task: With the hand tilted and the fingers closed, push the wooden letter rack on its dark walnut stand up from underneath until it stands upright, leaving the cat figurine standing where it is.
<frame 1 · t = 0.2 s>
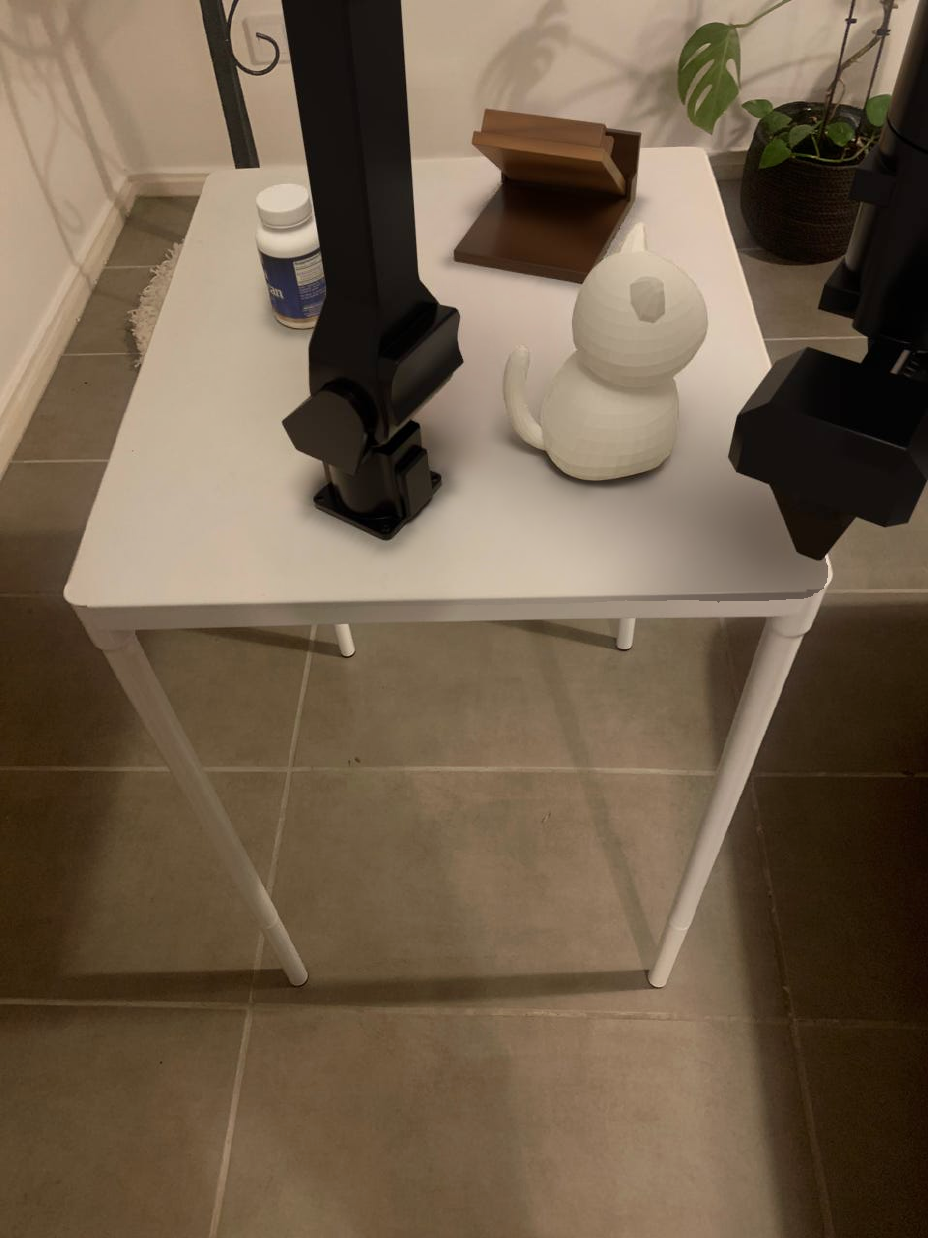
hand: (848, 487, 41), 15 cm above the table, tool pointing down, fingers open, 9 cm apart
pill bottle: (307, 312, 77), on the table
cat figurine: (594, 455, 65), on the table
stand: (547, 229, 82), on the table
ornament: (323, 258, 82), on the table
wooden letter rack: (555, 153, 79), point 6 cm above the table, hinge at 40.0°
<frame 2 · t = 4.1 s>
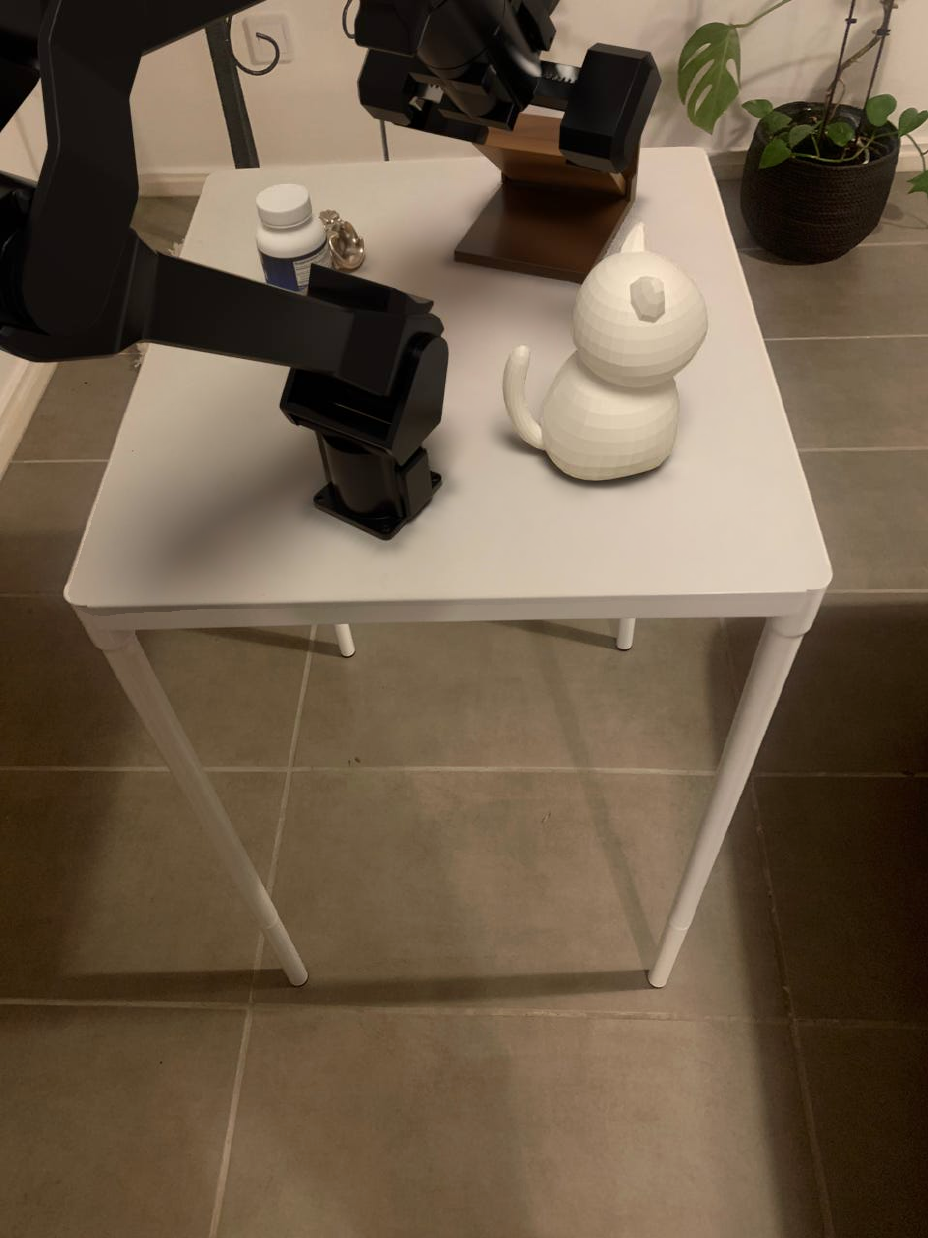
hand: (542, 150, 65), 13 cm above the table, tool tilted 40°, fingers open, 9 cm apart
nothing on the table moved.
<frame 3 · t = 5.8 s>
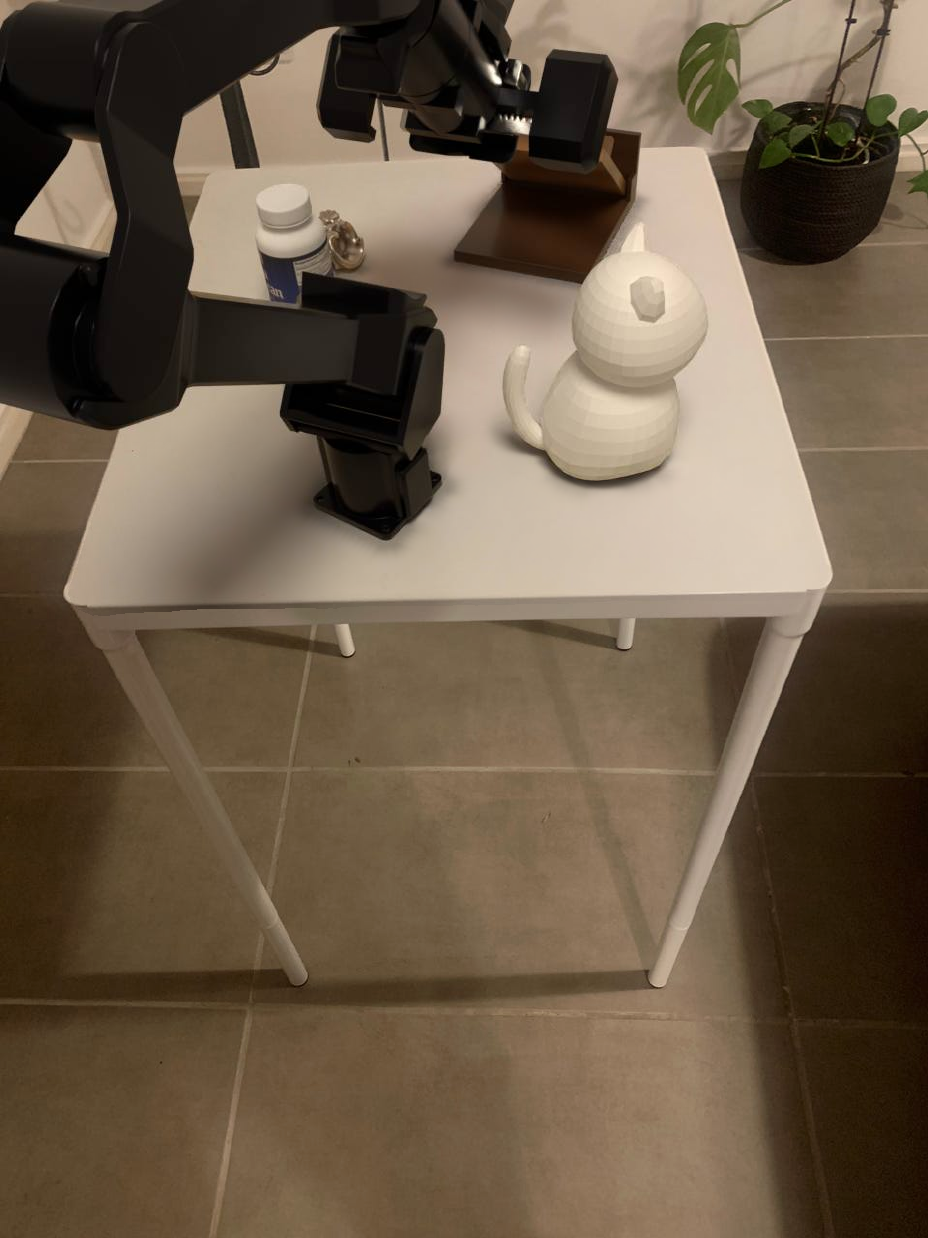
hand: (498, 148, 67), 12 cm above the table, tool tilted 45°, fingers closed
nothing on the table moved.
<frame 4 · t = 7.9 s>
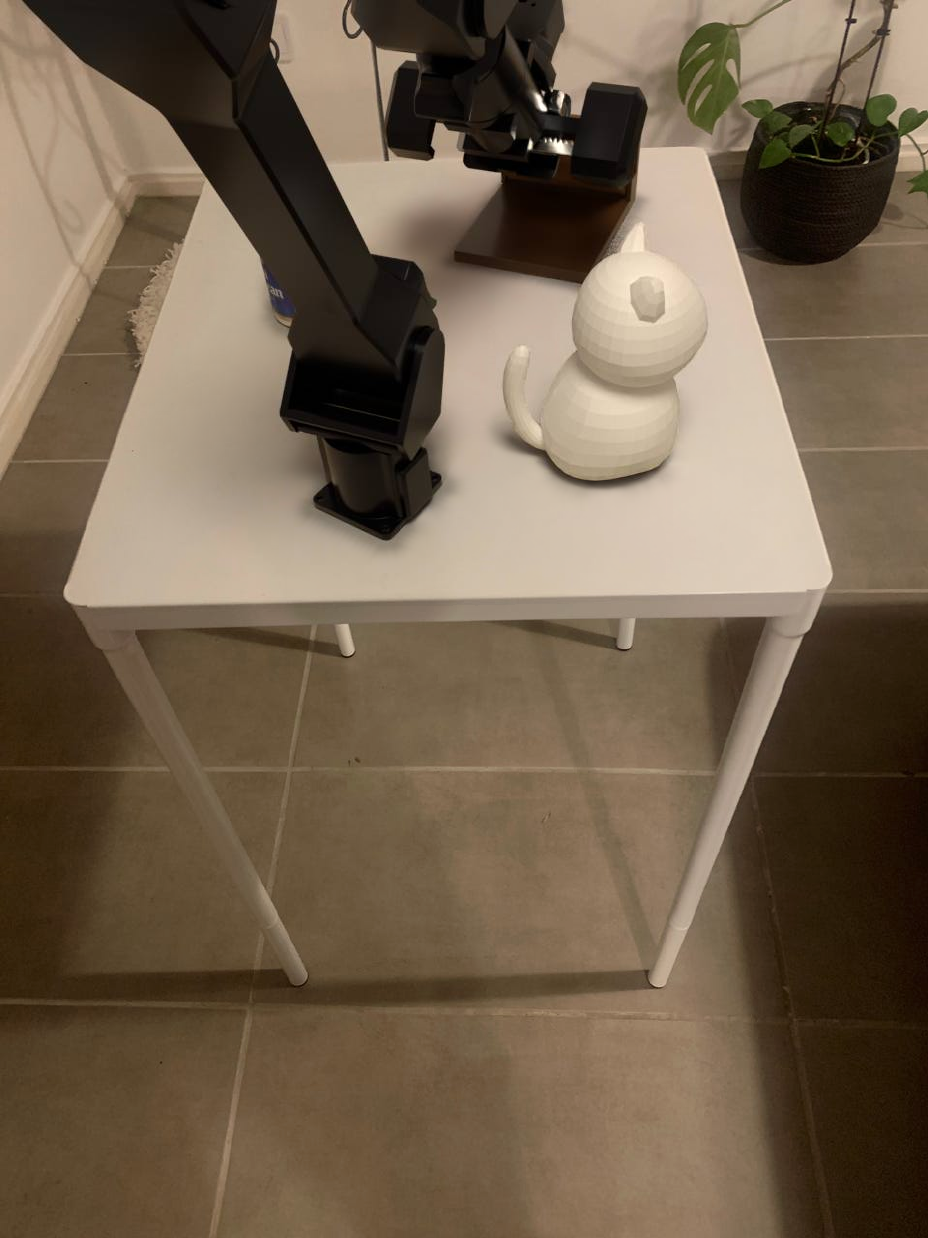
hand: (537, 166, 75), 7 cm above the table, tool tilted 45°, fingers closed
wooden letter rack: (556, 150, 79), point 6 cm above the table, hinge at 42.3°
everything else where it was.
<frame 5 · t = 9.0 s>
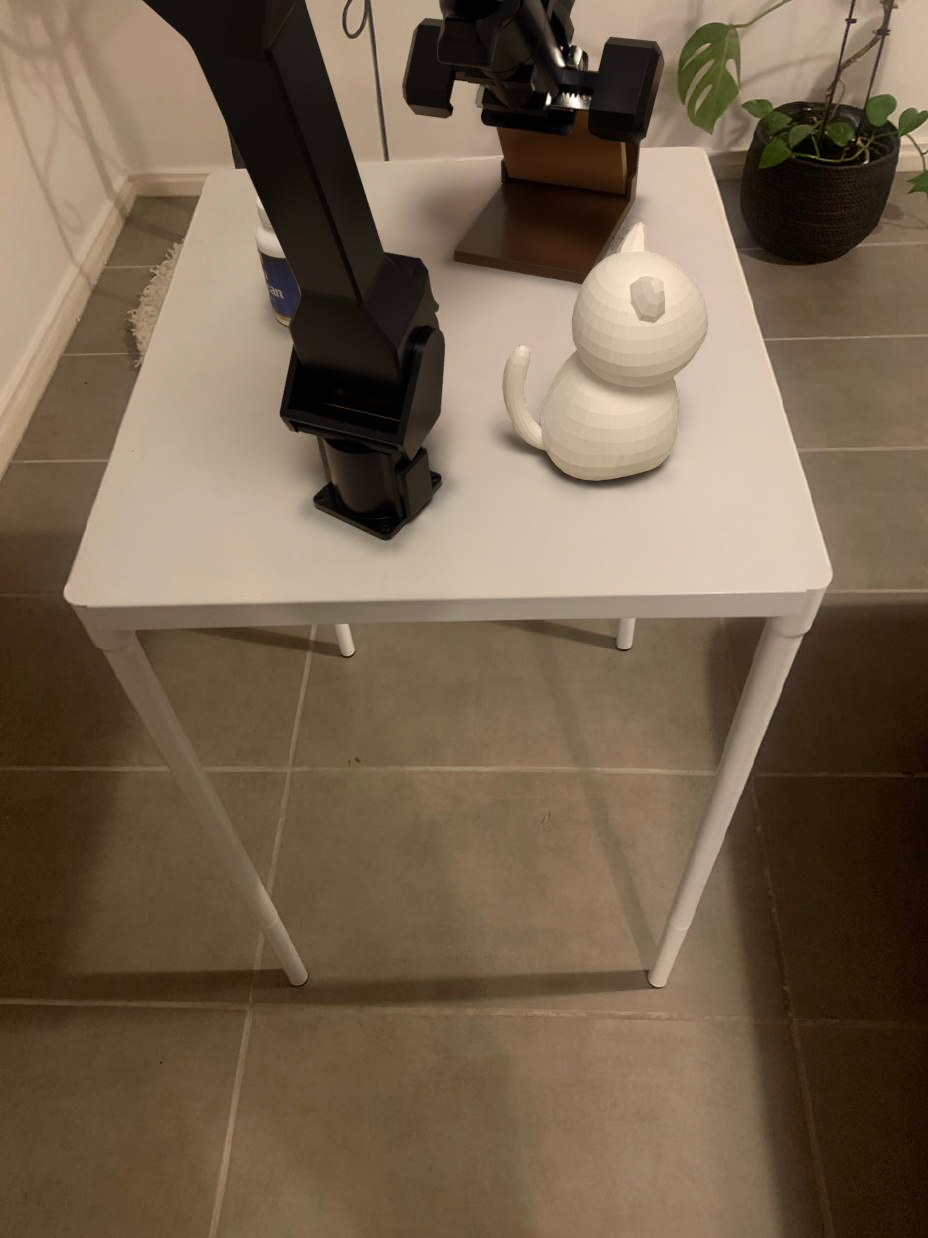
hand: (553, 127, 76), 8 cm above the table, tool tilted 45°, fingers closed, pressing on wooden letter rack
wooden letter rack: (563, 128, 79), point 7 cm above the table, hinge at 64.2°, touching gripper
everything else where it was.
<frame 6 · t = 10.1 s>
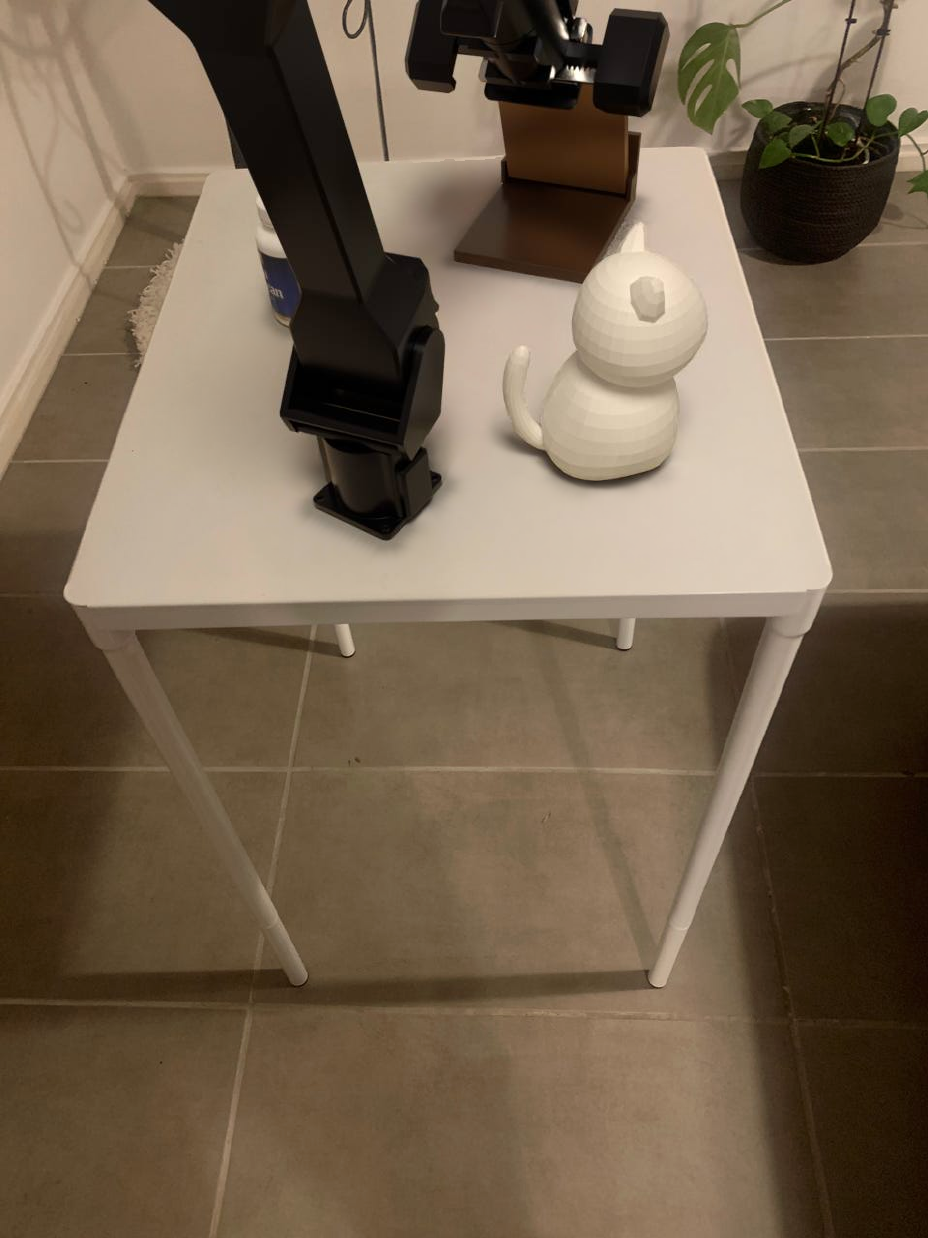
hand: (557, 102, 76), 10 cm above the table, tool tilted 45°, fingers closed
wooden letter rack: (567, 121, 79), point 7 cm above the table, hinge at 73.9°
everything else where it was.
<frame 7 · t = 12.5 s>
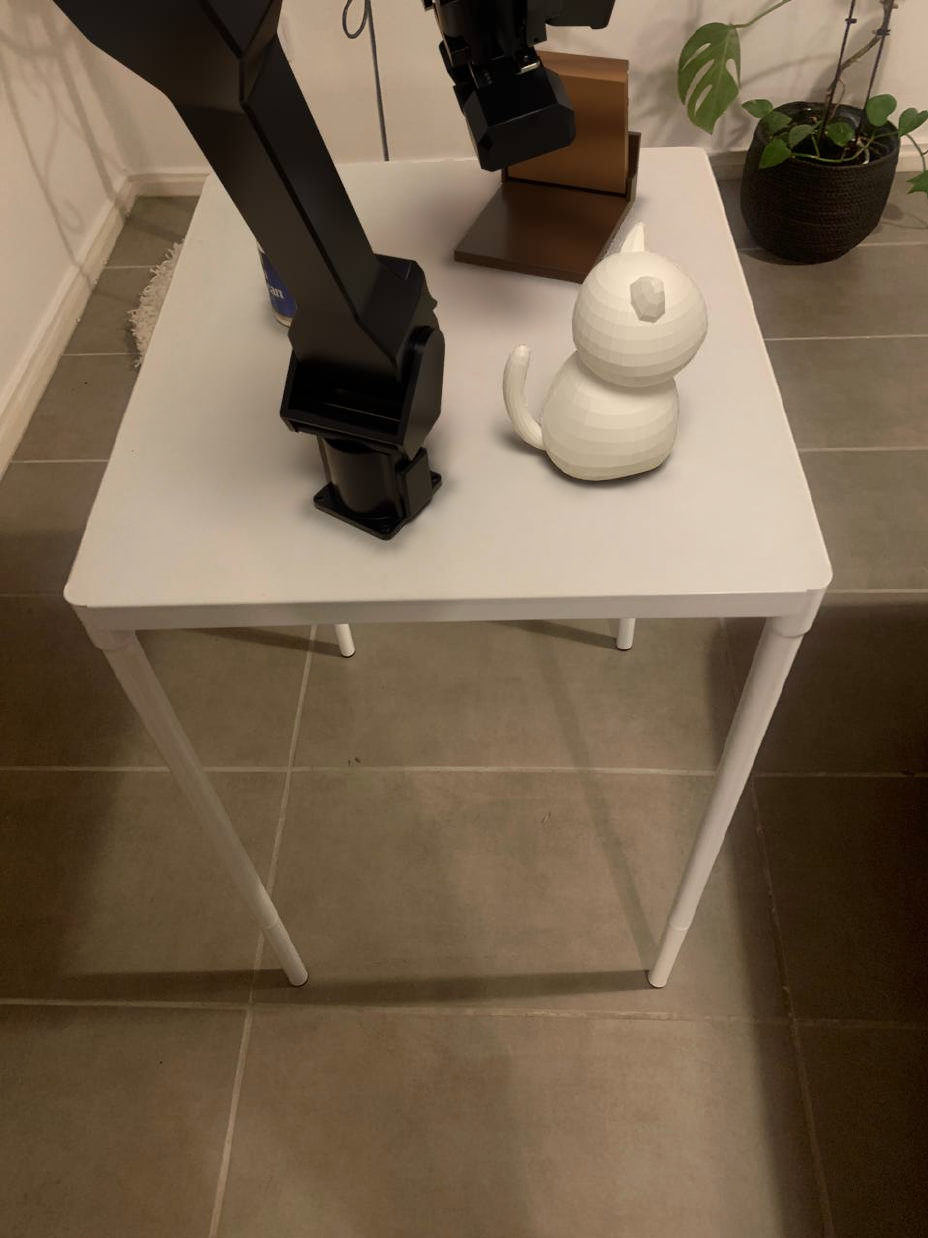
hand: (506, 147, 68), 12 cm above the table, tool tilted 20°, fingers closed
nothing on the table moved.
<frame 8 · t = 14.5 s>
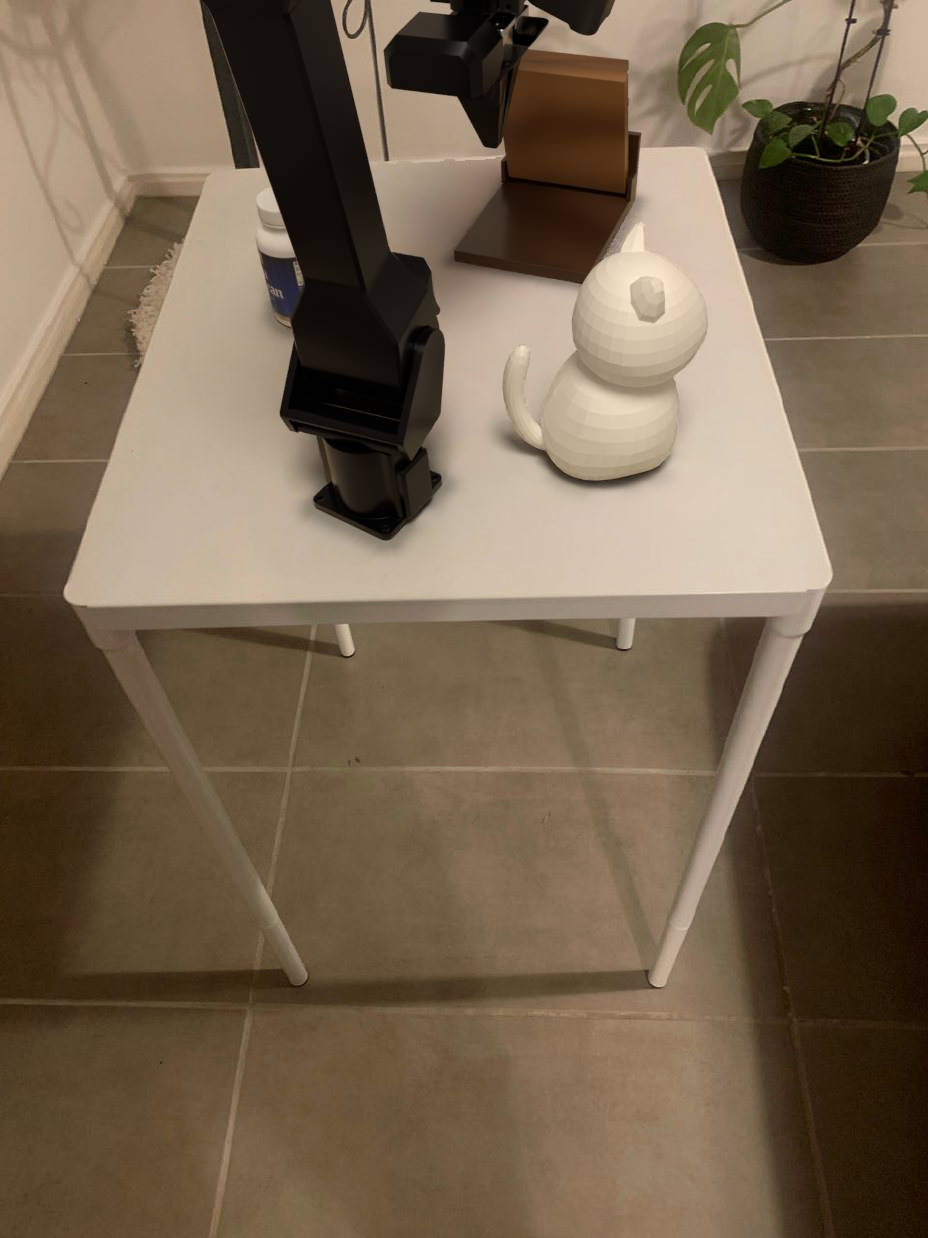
hand: (492, 145, 65), 13 cm above the table, tool pointing down, fingers closed
nothing on the table moved.
at the end: wooden letter rack at +74° (first picture: +40°); cat figurine tilted 0°; cat figurine moved 0.2 cm from its start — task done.
